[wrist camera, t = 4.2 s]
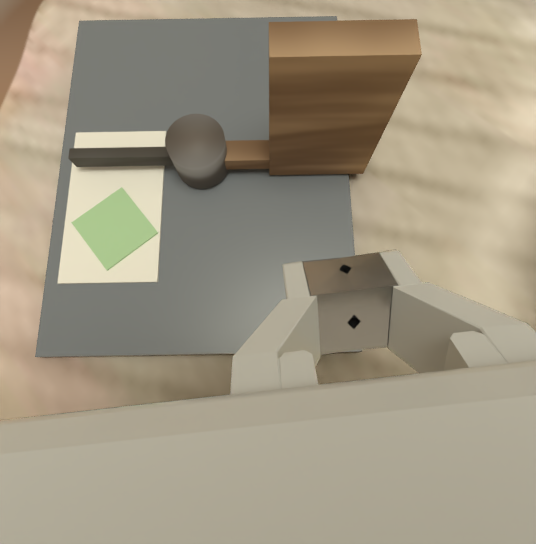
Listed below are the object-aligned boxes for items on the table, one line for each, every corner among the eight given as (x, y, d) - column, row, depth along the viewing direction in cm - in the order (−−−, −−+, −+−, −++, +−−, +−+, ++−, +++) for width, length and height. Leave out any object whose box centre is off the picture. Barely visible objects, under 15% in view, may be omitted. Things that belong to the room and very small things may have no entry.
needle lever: (364, 185, 27) (424, 72, 17) (78, 190, 27) (-44, 81, 17) (360, 138, 28) (414, 2, 18) (84, 142, 28) (-28, 10, 18)
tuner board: (359, 351, 26) (363, 351, 24) (42, 356, 26) (31, 356, 24) (335, 24, 32) (337, 12, 31) (83, 28, 32) (76, 16, 31)
